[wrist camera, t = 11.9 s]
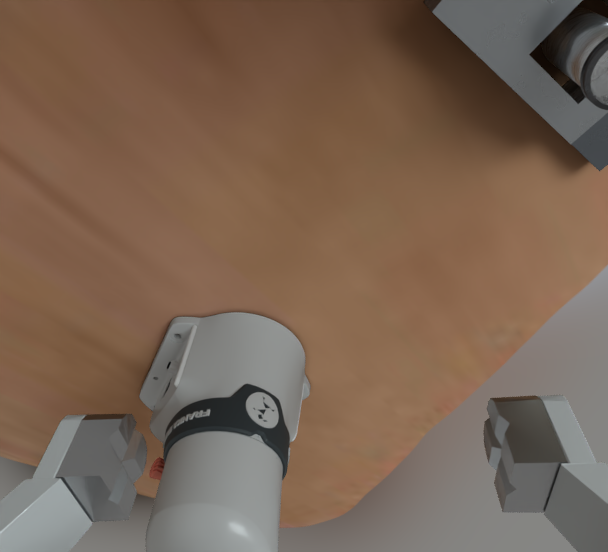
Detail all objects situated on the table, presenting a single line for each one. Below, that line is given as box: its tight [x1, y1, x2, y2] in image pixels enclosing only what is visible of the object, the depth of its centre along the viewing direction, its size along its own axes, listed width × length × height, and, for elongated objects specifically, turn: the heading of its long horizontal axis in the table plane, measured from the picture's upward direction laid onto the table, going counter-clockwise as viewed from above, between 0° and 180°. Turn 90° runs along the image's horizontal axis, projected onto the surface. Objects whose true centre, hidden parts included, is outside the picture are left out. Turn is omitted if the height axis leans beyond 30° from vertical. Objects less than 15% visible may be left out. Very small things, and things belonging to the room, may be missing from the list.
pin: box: [542, 7, 608, 110], centre depth 34 cm, size 5×5×9 cm
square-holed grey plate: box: [424, 0, 608, 171], centre depth 36 cm, size 10×20×4 cm, turn 53°
